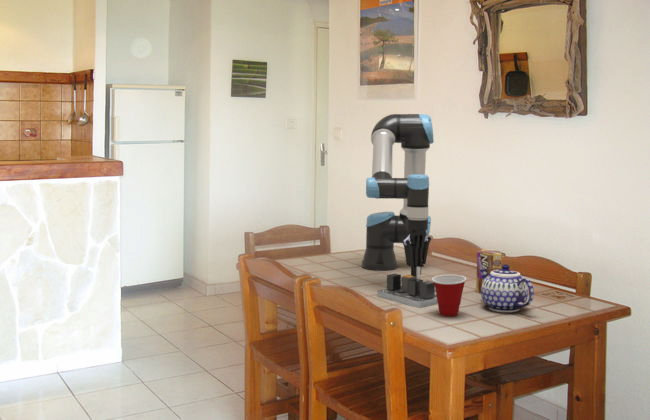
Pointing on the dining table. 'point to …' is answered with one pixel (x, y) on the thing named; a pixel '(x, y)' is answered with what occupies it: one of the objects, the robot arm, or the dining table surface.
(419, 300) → the breaker panel
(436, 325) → the dining table surface
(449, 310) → the plastic cup
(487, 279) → the teapot
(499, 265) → the candy box
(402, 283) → the breaker
